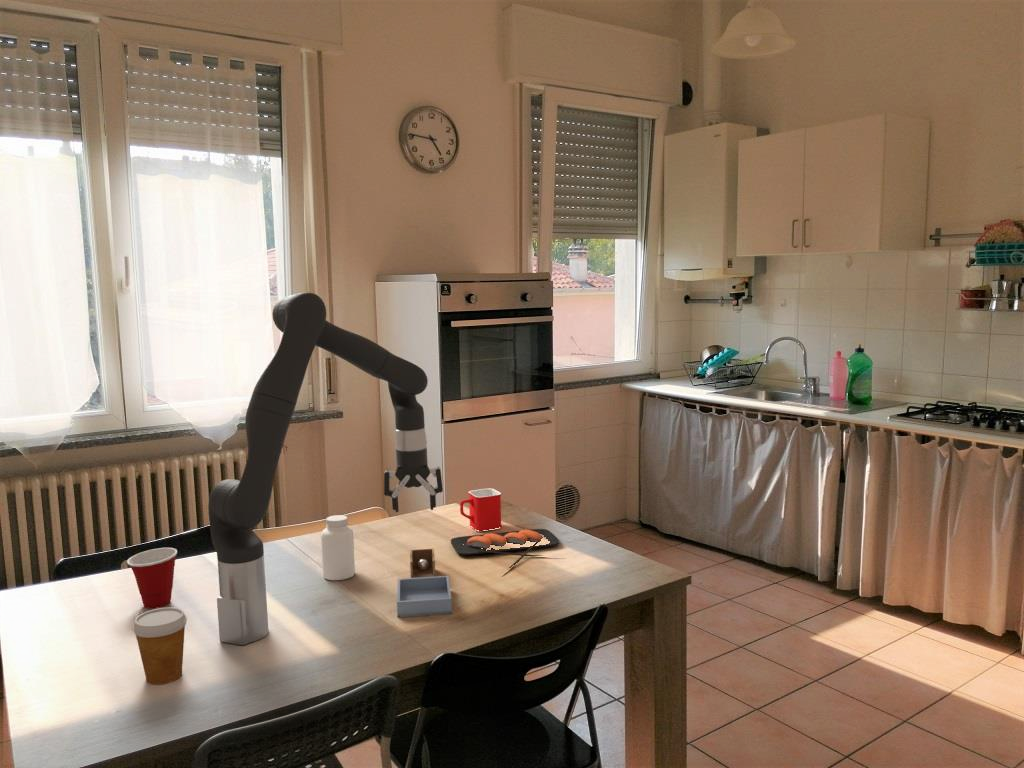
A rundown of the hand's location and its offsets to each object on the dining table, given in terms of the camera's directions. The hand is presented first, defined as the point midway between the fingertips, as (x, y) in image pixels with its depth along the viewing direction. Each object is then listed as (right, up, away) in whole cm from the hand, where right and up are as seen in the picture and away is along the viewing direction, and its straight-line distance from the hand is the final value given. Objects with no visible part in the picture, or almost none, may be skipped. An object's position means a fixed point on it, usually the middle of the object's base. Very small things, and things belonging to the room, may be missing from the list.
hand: (414, 510), depth 202 cm
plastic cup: (-59, -20, -12) cm, 63 cm away
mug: (+15, -12, +40) cm, 44 cm away
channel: (+2, -17, +3) cm, 17 cm away
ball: (+2, -15, +5) cm, 15 cm away
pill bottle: (-20, -17, +4) cm, 26 cm away
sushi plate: (+24, -15, +18) cm, 33 cm away
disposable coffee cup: (-42, -25, -46) cm, 67 cm away
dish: (+4, -19, -14) cm, 24 cm away
